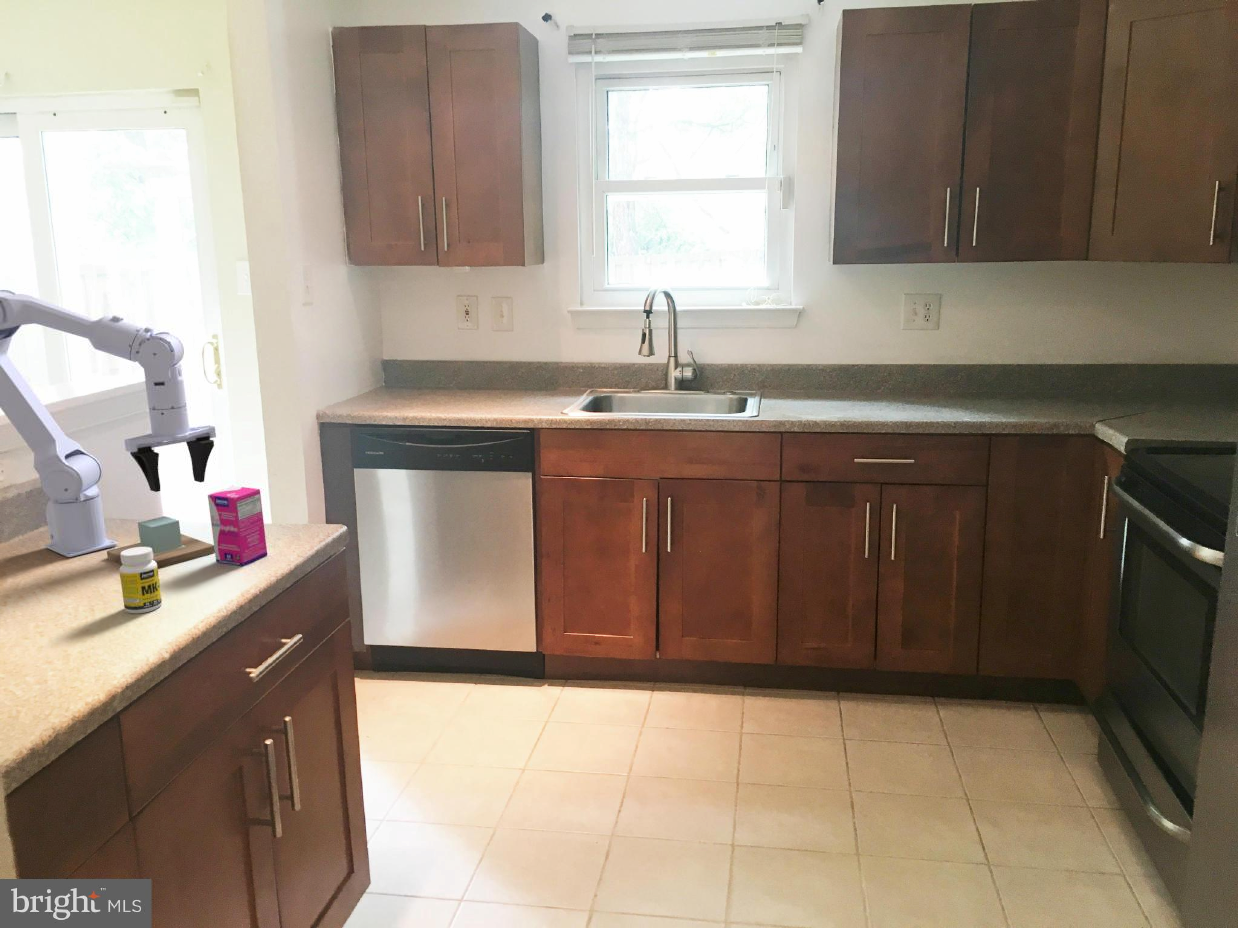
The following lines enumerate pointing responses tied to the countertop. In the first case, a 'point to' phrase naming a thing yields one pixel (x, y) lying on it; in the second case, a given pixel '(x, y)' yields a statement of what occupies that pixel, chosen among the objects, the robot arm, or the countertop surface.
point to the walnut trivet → (171, 552)
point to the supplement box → (237, 525)
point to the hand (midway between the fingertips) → (177, 485)
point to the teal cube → (160, 534)
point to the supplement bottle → (139, 580)
